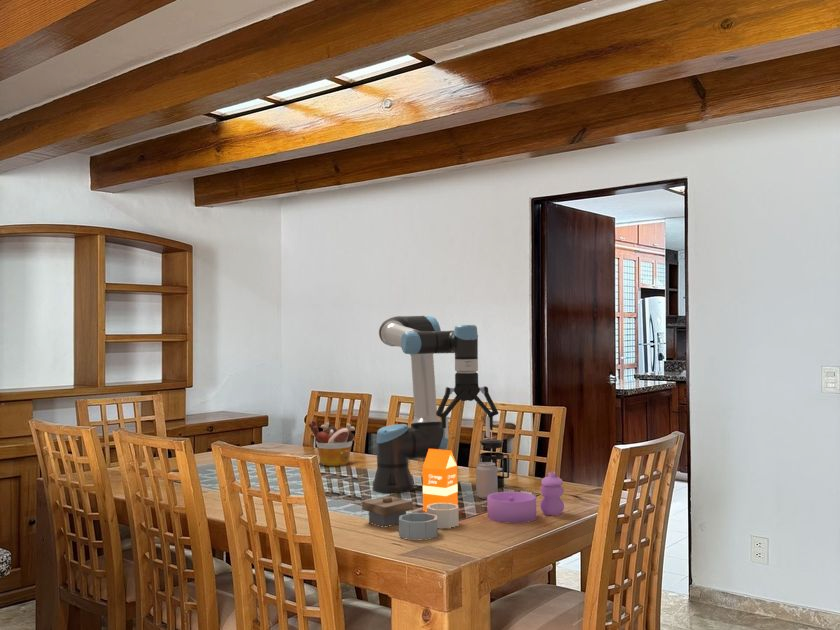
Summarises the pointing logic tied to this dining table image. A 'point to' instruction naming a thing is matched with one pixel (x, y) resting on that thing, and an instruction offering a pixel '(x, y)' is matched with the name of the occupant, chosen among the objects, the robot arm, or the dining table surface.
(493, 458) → the french press
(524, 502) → the container set
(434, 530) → the grey bowl
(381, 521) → the grey rectangular block
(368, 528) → the dining table surface
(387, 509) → the lid
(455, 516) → the bowl
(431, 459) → the orange juice
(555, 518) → the dining table surface
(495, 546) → the dining table surface
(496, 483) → the can
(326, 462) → the bucket of meat
